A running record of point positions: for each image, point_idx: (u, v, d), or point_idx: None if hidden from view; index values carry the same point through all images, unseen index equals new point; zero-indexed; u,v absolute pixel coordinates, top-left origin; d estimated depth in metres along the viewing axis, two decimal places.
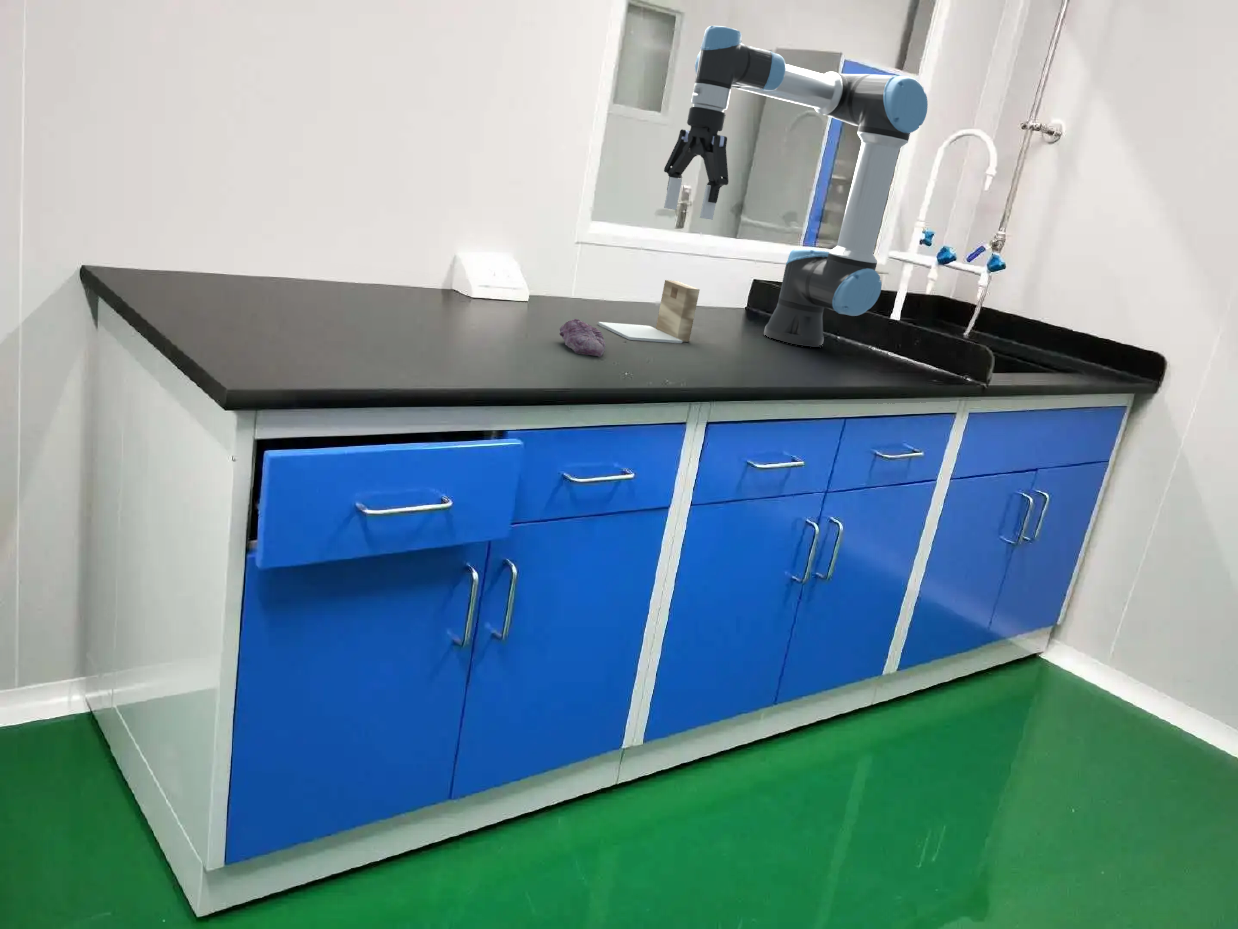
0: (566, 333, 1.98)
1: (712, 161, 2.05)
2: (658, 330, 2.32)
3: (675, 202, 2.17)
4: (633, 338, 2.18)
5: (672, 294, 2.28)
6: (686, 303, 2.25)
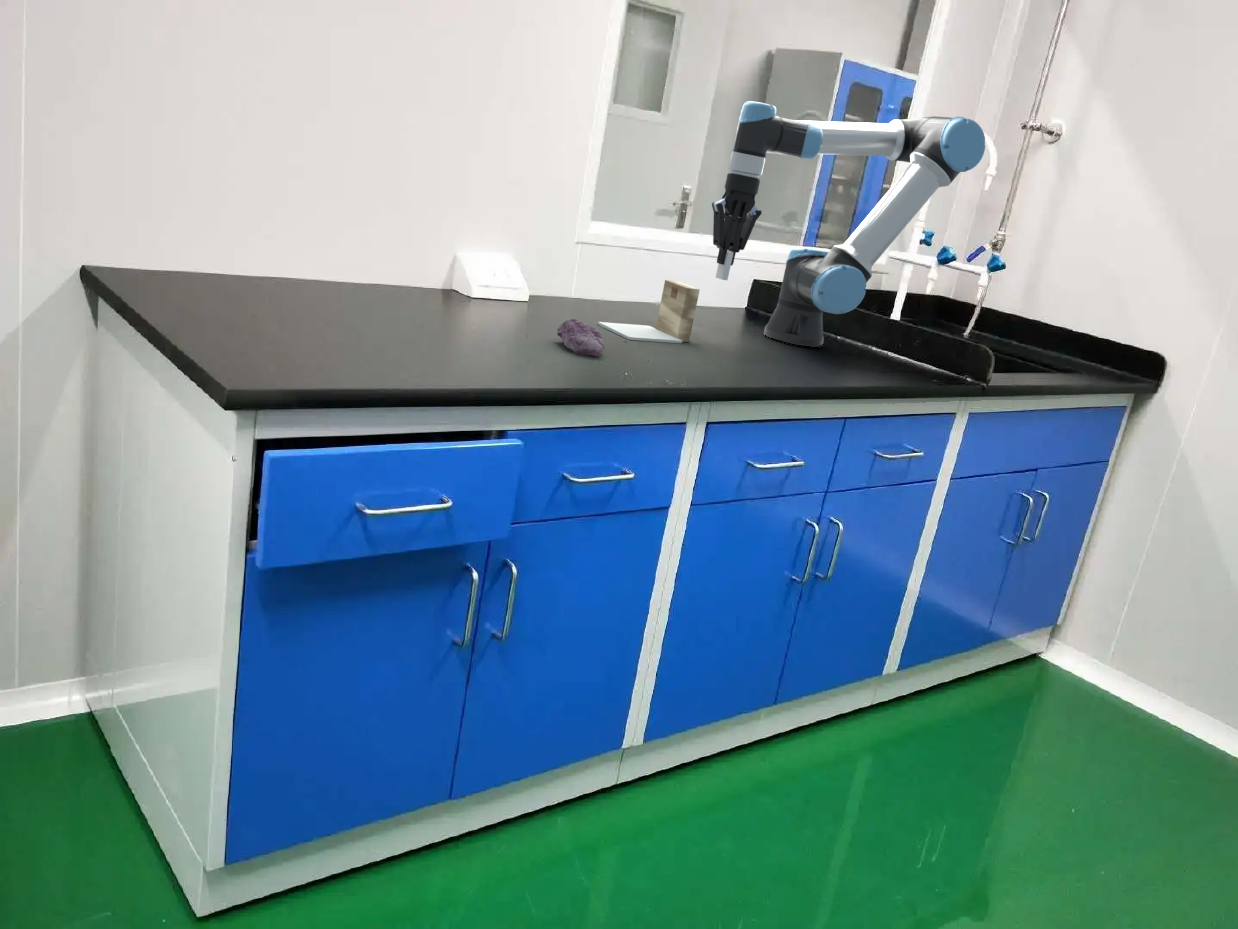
0: (564, 333, 1.97)
1: (726, 225, 2.29)
2: (658, 330, 2.32)
3: None
4: (633, 338, 2.18)
5: (672, 294, 2.28)
6: (686, 303, 2.25)
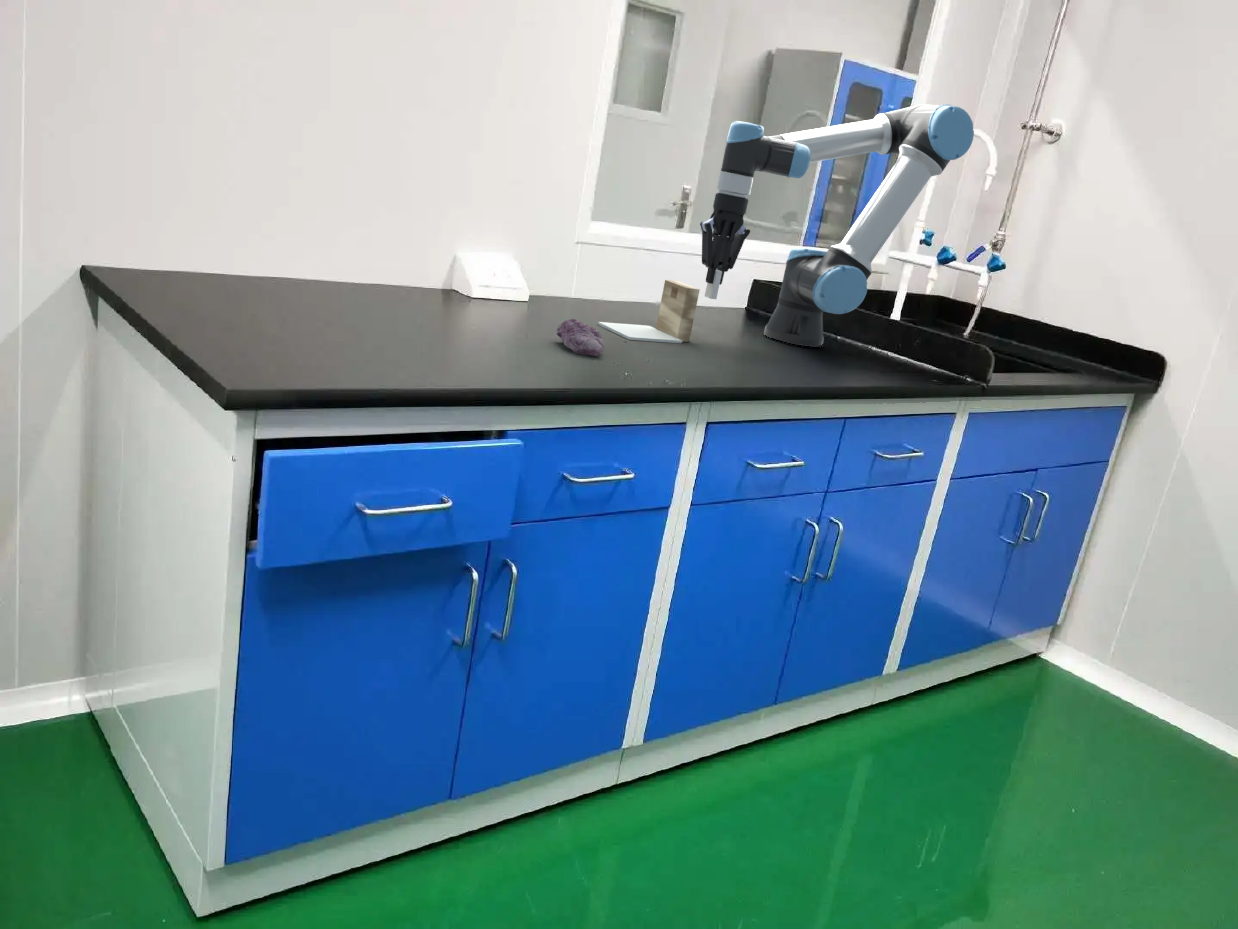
0: (564, 333, 1.97)
1: (714, 245, 2.29)
2: (658, 330, 2.32)
3: None
4: (633, 338, 2.18)
5: (672, 294, 2.28)
6: (686, 302, 2.25)
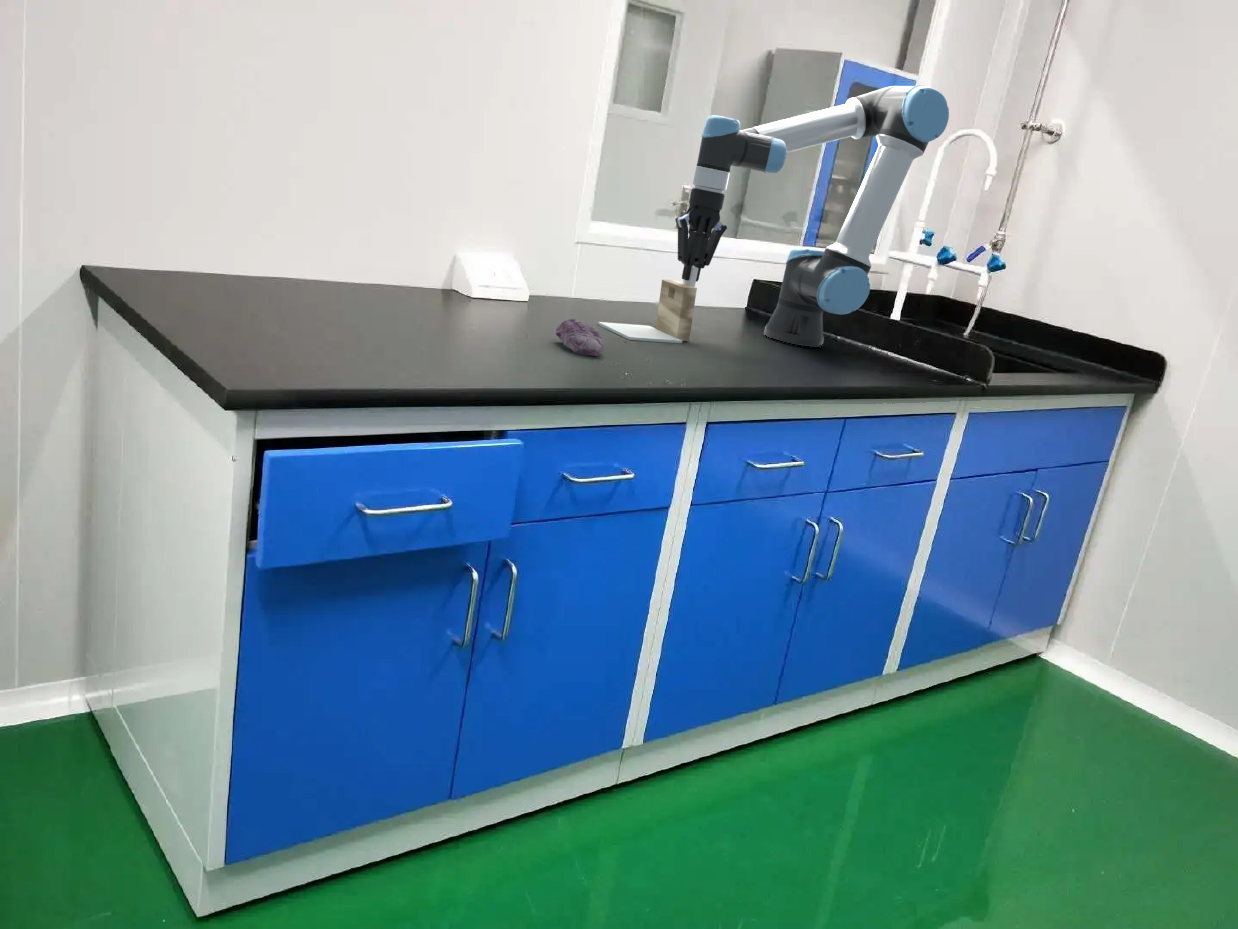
0: (564, 333, 1.97)
1: (690, 241, 2.25)
2: (658, 330, 2.32)
3: None
4: (633, 338, 2.18)
5: (670, 294, 2.28)
6: (684, 302, 2.25)
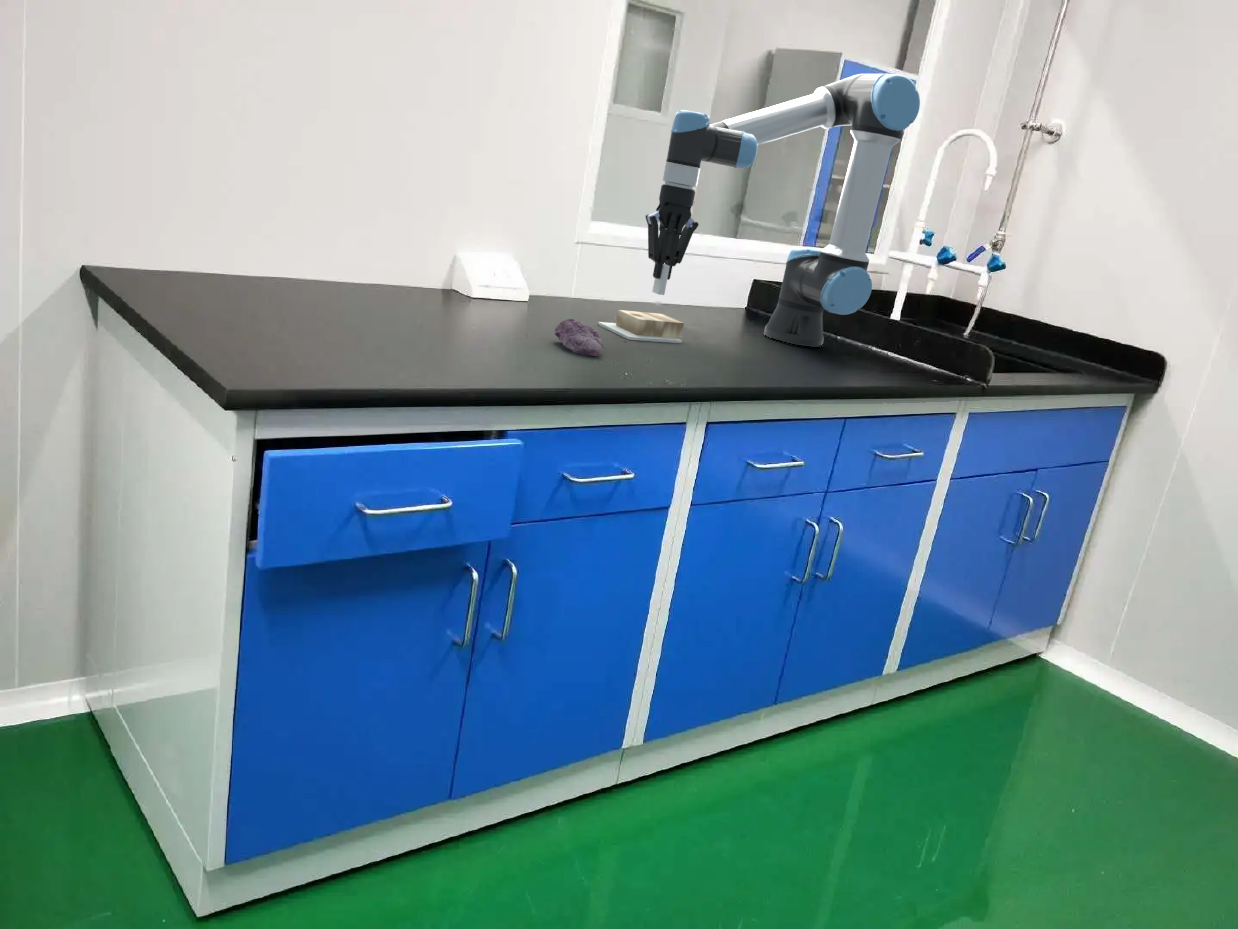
0: (563, 333, 1.97)
1: (661, 238, 2.21)
2: None
3: None
4: (633, 338, 2.18)
5: None
6: (649, 333, 2.23)
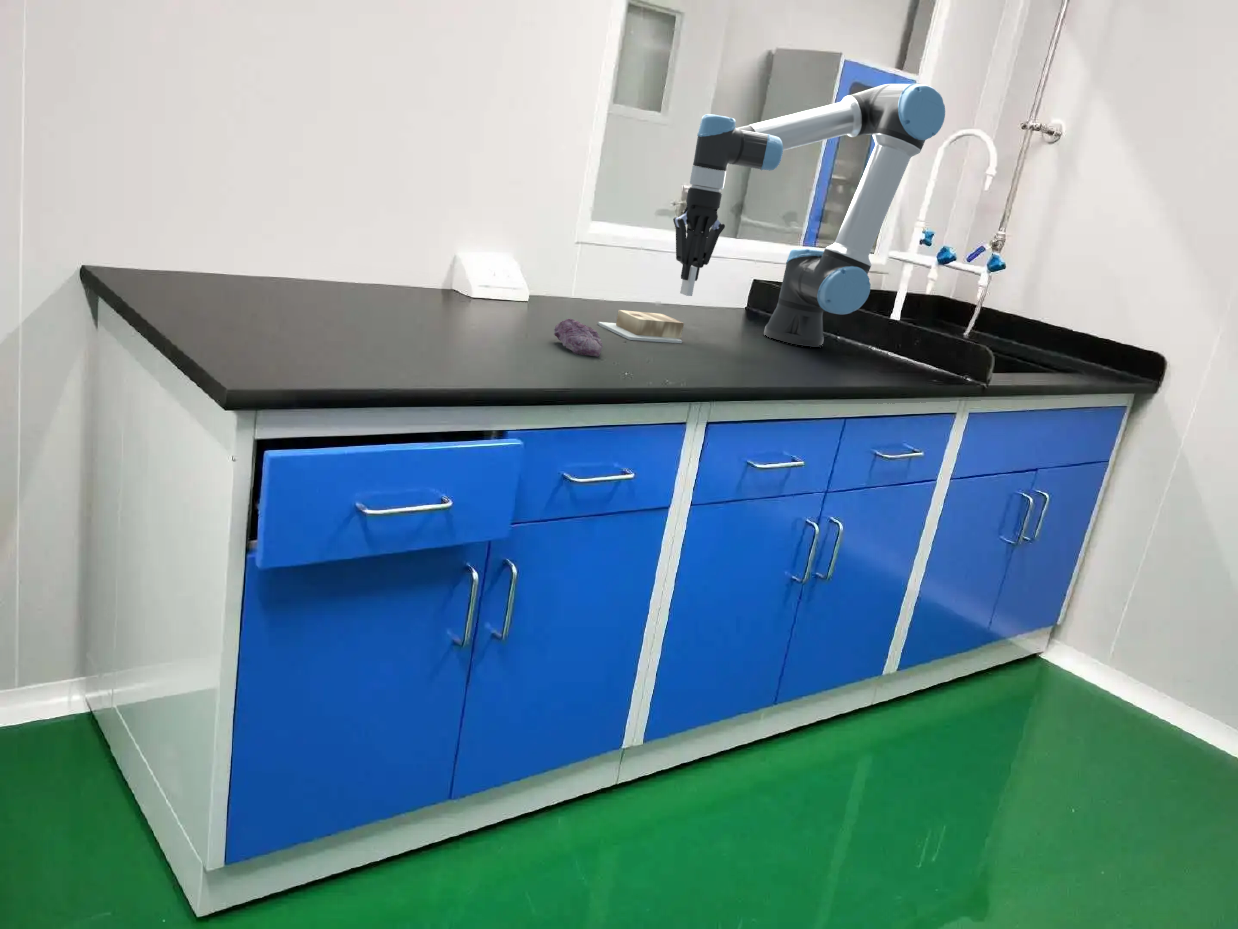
0: (562, 333, 1.97)
1: (689, 240, 2.25)
2: None
3: None
4: (633, 338, 2.18)
5: None
6: (649, 333, 2.23)
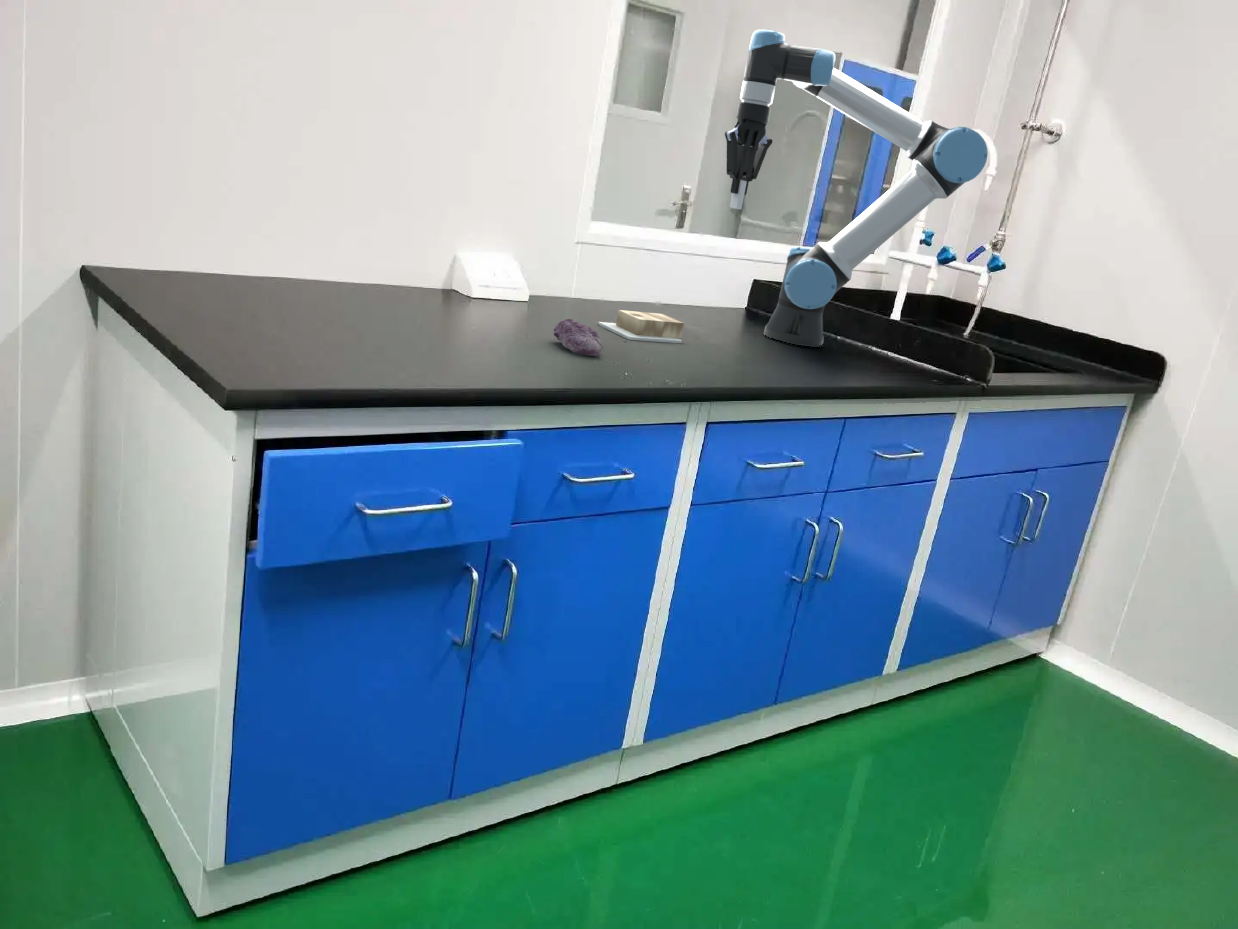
0: (562, 333, 1.96)
1: (739, 154, 2.33)
2: None
3: None
4: (633, 338, 2.18)
5: None
6: (649, 333, 2.23)
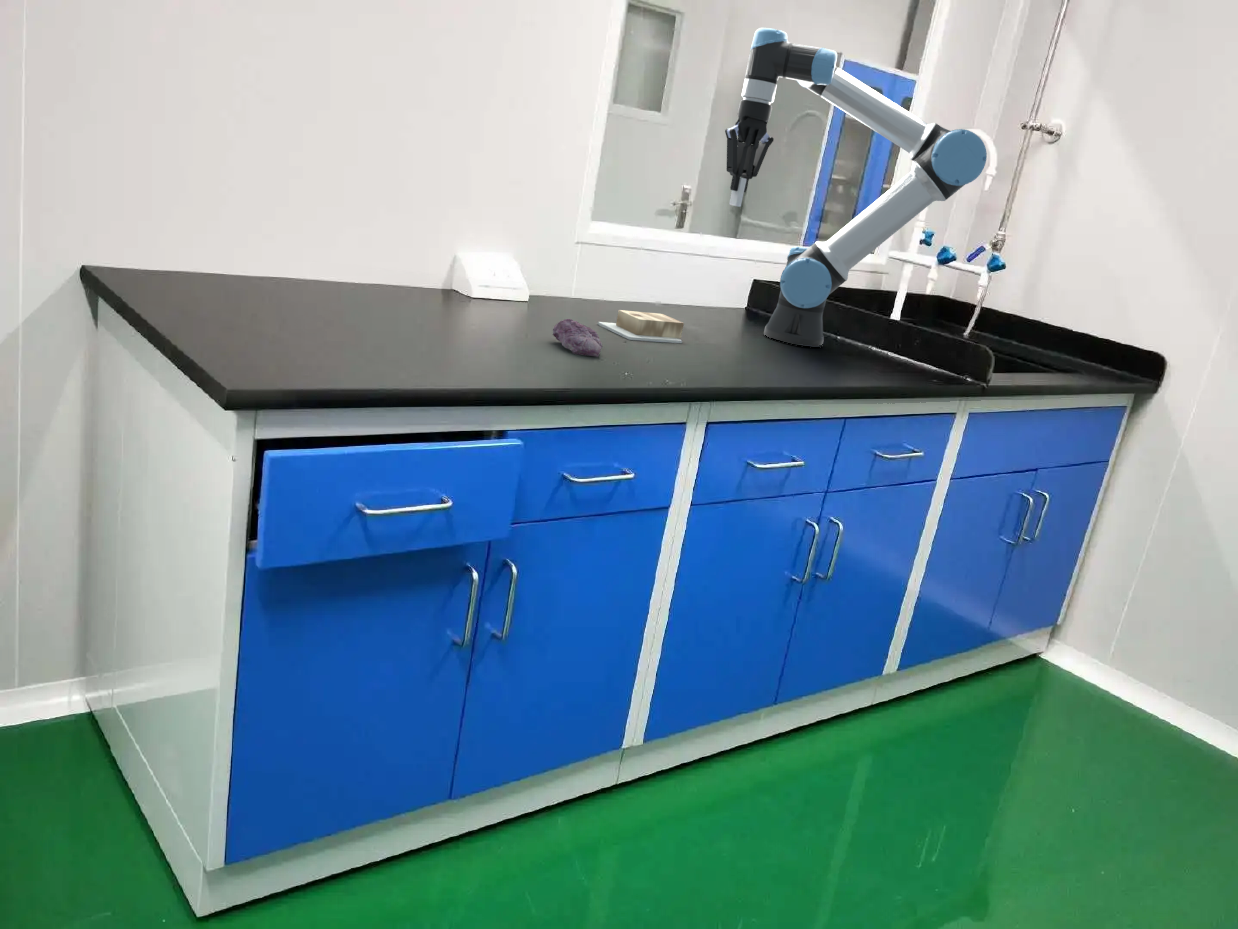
0: (561, 334, 1.96)
1: (739, 152, 2.34)
2: None
3: None
4: (633, 338, 2.18)
5: None
6: (649, 333, 2.23)
